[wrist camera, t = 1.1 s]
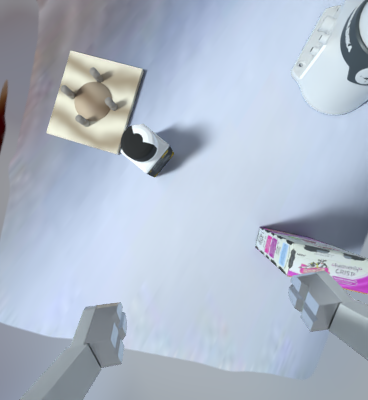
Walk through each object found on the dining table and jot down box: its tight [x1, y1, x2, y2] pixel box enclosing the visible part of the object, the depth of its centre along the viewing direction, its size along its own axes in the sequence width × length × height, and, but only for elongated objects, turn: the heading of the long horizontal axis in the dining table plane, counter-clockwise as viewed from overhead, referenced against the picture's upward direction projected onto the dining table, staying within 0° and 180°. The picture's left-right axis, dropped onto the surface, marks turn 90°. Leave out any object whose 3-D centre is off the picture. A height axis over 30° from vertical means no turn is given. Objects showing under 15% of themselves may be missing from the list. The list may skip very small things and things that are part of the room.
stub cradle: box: [47, 51, 143, 155], centre depth 45 cm, size 20×18×4 cm
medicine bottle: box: [121, 124, 174, 177], centre depth 40 cm, size 7×7×12 cm
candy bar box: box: [255, 227, 368, 294], centre depth 35 cm, size 11×5×16 cm, turn 78°
